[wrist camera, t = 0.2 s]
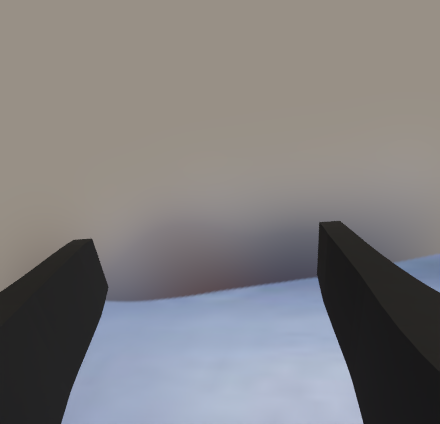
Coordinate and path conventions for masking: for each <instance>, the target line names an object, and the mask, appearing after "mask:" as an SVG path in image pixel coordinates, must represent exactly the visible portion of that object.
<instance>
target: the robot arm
mask: <svg viewBox="0 0 440 424" xmlns="http://www.w3.org/2000/svg"><path fill="white" fill-rule="evenodd" d="M317 276H318V280H319V285H320V289H321V294H322V298H323V302H324V305H325V308H326V310H327V313H328V316H329V318H330V321H331V324H332V327H333V329H334V332H335V335H336V337H337V340H338V343H339V345H340V348H341V351H342V353H343V356H344V359H345V361H346V364H347V366H348V369H349V373H350V376H351V379H352V382H353V385H354V389H355V393H356V397H357V400H358V404H359V408H360V412H361V415H362V419H363V423H364V424H440V293H439V292H438V291H436V290H434V289H432V288H431V287H429V286H427V285H426V284H424V283H422V282H421V281H419V280H418V279H416V278H414V277H413V276H411V275H410V274H408V273H407V272H405V271H404V270H403V269H401V268H400V267H398V266H397V265H395V264H394V263H392V262H391V261H390V260H388V259H387V258H386V257H384V256H383V255H382V254H380V253H379V252H378V251H376V250H375V249H374V248H372V247H371V246H370V245H369V244H367V243H366V242H365V241H364V240H363V239H361V238H360V237H359V236H358V235H356V234H355V233H354V232H353V231H352V230H350V229H349V228H348V227H347V226H346V225H344V224H343V223H341V221H331V222H320V223H319V244H318V267H317ZM107 291H108V284H107V281H106V279H105V276H104V273H103V270H102V267H101V264H100V261H99V258H98V255H97V252H96V249H95V246H94V243H93V240H92V239H82V240H81V239H80V240H73V241H71V242H70V243H68V244H66V245H65V246H64V247H62V248H61V249H59V250H58V251H57V252H55V253H54V254H52V255H51V256H50V257H48V258H47V259H46V260H45V261H43V262H42V263H40V264H39V265H38V266H36V267H35V268H34V269H33V270H31V271H30V272H28V273H27V274H25V275H24V276H23V277H21V278H20V279H19V280H17V281H16V282H14V283H13V284H11V285H10V286H8V287H7V288H6V289H4V290H3V291H1V292H0V424H61V422H62V419H63V415H64V412H65V409H66V405H67V402H68V398H69V395H70V392H71V389H72V387H73V384H74V381H75V379H76V376H77V374H78V371H79V369H80V366H81V364H82V362H83V359H84V357H85V354H86V352H87V350H88V347H89V345H90V342H91V340H92V337H93V335H94V332H95V330H96V328H97V325H98V323H99V320H100V317H101V315H102V311H103V307H104V304H105V300H106V295H107Z"/></svg>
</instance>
